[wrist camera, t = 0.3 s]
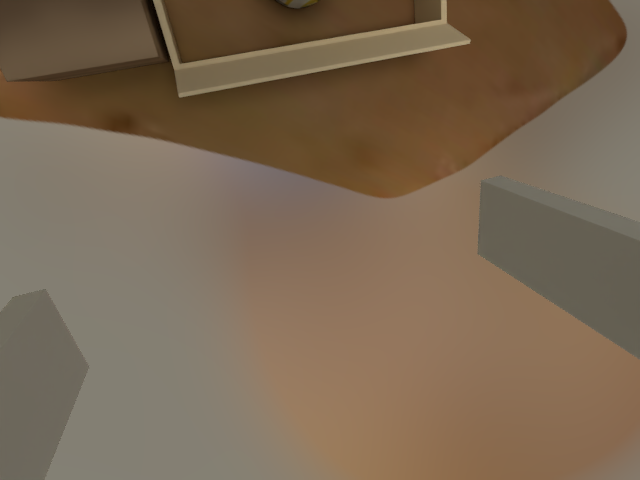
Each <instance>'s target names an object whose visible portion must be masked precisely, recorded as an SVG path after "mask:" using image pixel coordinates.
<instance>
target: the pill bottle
mask: <svg viewBox="0 0 640 480" xmlns="http://www.w3.org/2000/svg"><path fill="white" fill-rule="evenodd" d="M276 1H277V2H279V3H281V4H282V5H285V6H287V7H290V8H305V7H308V6H311V5H313V4H315V3H316V2H318V1H319V0H276Z"/></svg>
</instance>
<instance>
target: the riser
mask: <svg viewBox="0 0 640 480" xmlns="http://www.w3.org/2000/svg"><path fill="white" fill-rule="evenodd" d="M164 62H169V60H168V57H167V54H166V50H165V47H164V44H163V41H162V37H161V34H160V31H159V28H158V24H157V21H156V18H155V14H154V11H153V8H152V5H151V1H150V0H0V68H1V70H2V72H3V75H4V77H5V79H6V81H7V82H8V81H57V80H63V79H69V78H75V77H81V76H86V75H92V74H98V73H104V72H110V71H116V70H122V69H128V68H134V67H140V66H146V65H152V64H158V63H164Z"/></svg>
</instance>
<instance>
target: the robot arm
mask: <svg viewBox="0 0 640 480" xmlns="http://www.w3.org/2000/svg"><path fill="white" fill-rule="evenodd" d="M478 254H479V255H480V256H482V257H483V258H485V259H486V260H488V261H490V262H491V263H492V264H494V265H495V266H497V267H499V268H500V269H502V270H503V271H505V272H506V273H508V274H509V275H511V276H513V277H514V278H515V279H517V280H519V281H520V282H522V283H523V284H525V285H526V286H528V287H529V288H531V289H532V290H534V291H535V292H537V293H538V294H540V295H542V296H543V297H545V298H546V299H548V300H549V301H551V302H552V303H554V304H555V305H557V306H558V307H560V308H562V309H563V310H565V311H566V312H568V313H569V314H571V315H572V316H574V317H575V318H577V319H578V320H580V321H581V322H583V323H585V324H586V325H588V326H589V327H591V328H592V329H594V330H595V331H597V332H598V333H600V334H602V335H603V336H604V337H606V338H608V339H609V340H611V341H612V342H614V343H615V344H617V345H619V346H620V347H621V348H623V349H625V350H626V351H628V352H629V353H631V354H632V355H634V356H635V357H637V358H638V359H640V222H638V221H635V220H632V219H629V218H626V217H623V216H620V215H617V214H614V213H611V212H608V211H605V210H602V209H599V208H596V207H593V206H590V205H587V204H584V203H581V202H578V201H575V200H572V199H569V198H566V197H563V196H560V195H557V194H554V193H551V192H548V191H545V190H542V189H539V188H537V187H534V186H530V185H528V184H525V183H522V182H518V181H516V180H513V179H510V178H507V177H503V176H497V177H494V178H489V179H485V180H481V191H480V213H479V234H478ZM88 368H89V366H88V364H87V362H86V360H85V358H84V357H83V355H82V353H81V351H80V349H79V348H78V346H77V344H76V342H75V341H74V339H73V337H72V335H71V333H70V332H69V330H68V328H67V326H66V325H65V323H64V321H63V319H62V317H61V316H60V314H59V312H58V310H57V308H56V307H55V305H54V303H53V301H52V300H51V298H50V296H49V294H48V292H47V291H46V289H43V290H39V291H35V292H31V293H27V294H23V295H19V296H15V297H13V298H12V299H11V300H10V301H9V303H8V304H7V305H6V306H5V307H4V308H3V310H2V311H1V312H0V480H44V479H45V476H46V474H47V471H48V469H49V466H50V464H51V462H52V459H53V457H54V454H55V451H56V449H57V446H58V444H59V441H60V439H61V436H62V434H63V431H64V429H65V426H66V424H67V421H68V419H69V416H70V414H71V411H72V409H73V406H74V404H75V401H76V398H77V396H78V394H79V391H80V389H81V386H82V383H83V381H84V378H85V376H86V373H87V371H88Z"/></svg>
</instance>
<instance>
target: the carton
mask: <svg viewBox="0 0 640 480" xmlns="http://www.w3.org/2000/svg"><path fill="white" fill-rule="evenodd" d="M153 2H154V5H155V8H156V12H157V15H158V18H159V22H160V25H161V28H162V31H163V35H164V38H165V41H166V45H167V48H168V51H169V55H170V58H171V61H172V64H173V68H174V72H175V78H176V84H177V90H178V95H179V98H180V97H185V96H191V95H196V94H201V93H207V92H212V91H218V90H223V89H228V88H234V87H239V86H244V85H250V84H255V83H260V82H266V81H271V80H277V79H282V78H287V77H293V76H298V75H303V74H309V73H314V72H320V71H325V70H330V69H336V68H341V67H346V66H352V65H357V64H362V63H368V62H373V61H379V60H384V59H389V58H395V57H400V56H405V55H411V54H416V53H421V52H427V51H432V50H438V49H443V48H448V47H454V46H459V45H464V44H470V40H471V39H469V38H468V37H466V36H465V35H463V34H462V33H460V32H459V31H458V30H456V29H455V28H453V27H452V26H450V25H449V24H447V3H446V0H414V8H415V24H412V25H406V26H400V27H394V28H389V29H383V30H377V31H371V32H365V33H359V34H353V35H347V36H342V37H336V38H330V39H324V40H318V41H312V42H306V43H301V44H295V45H289V46H283V47H277V48H271V49H265V50H259V51H254V52H248V53H242V54H236V55H230V56H224V57H218V58H213V59H207V60H201V61H195V62H189V63H183V64H182V61H181V58H180V55H179V51H178V48H177V44H176V41H175V38H174V34H173V31H172V27H171V24H170V20H169V17H168V14H167V10H166V7H165V3H164V0H153Z"/></svg>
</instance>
